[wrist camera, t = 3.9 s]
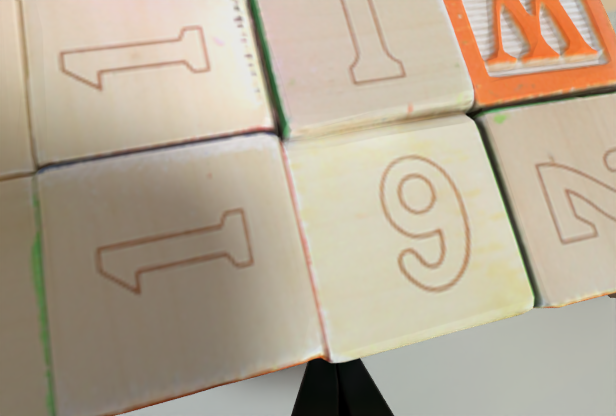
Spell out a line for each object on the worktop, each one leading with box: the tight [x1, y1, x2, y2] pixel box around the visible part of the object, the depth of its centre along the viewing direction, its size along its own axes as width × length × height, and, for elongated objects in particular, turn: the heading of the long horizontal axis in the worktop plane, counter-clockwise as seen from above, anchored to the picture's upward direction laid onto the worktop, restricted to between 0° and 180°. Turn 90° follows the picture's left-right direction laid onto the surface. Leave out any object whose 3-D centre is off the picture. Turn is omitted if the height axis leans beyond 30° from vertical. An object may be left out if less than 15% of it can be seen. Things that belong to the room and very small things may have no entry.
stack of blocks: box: [0, 0, 616, 416], centre depth 10 cm, size 21×6×12 cm, turn 103°
